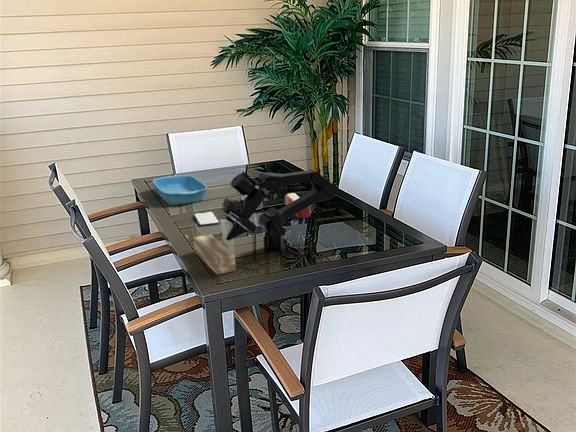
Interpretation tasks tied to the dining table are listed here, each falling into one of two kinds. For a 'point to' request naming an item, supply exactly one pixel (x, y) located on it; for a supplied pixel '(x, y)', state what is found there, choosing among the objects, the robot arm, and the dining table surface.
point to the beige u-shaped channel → (214, 254)
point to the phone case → (206, 219)
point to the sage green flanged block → (226, 230)
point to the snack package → (293, 197)
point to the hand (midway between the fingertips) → (224, 237)
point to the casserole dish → (180, 189)
